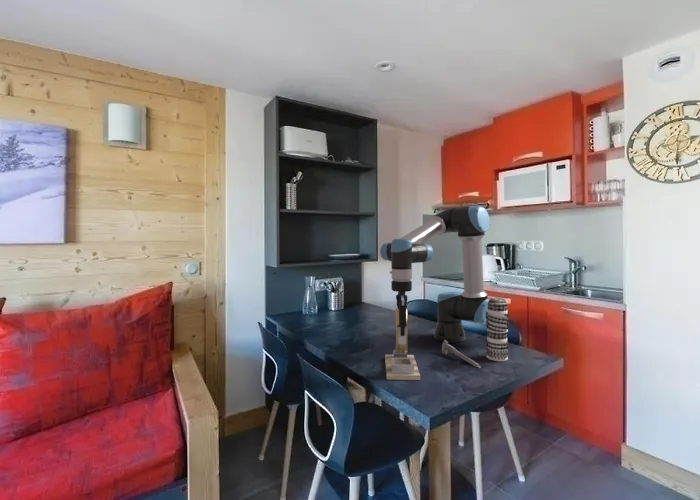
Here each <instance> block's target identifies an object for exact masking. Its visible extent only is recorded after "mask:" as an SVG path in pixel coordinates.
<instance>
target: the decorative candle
mask: <svg viewBox="0 0 700 500" xmlns="http://www.w3.org/2000/svg"><path fill="white" fill-rule="evenodd" d="M489 299H490V300H489V301H487V302H488V308H487V312H486V315H487V316H486V319H487V320H486V323H485V324H486V325H485V326H486V327H485V328H486V331H487V336H486V344H485V345H486V348H485V350H486V351H485V353H486V355H485V357H486V358H487V359H488V360H491V361H494V362H505V361H508V360H509V357H508V356H509V349H508V348H509V346H508V344H509V342H508V332H509V327H508V326H507V325H509V324H510V323H509V322H508V321H509V320H510V318H508V316H510V313H508V304H509V302H508V301H507V300H506V299H505V298H502V297H492V298H491V297H490V298H489Z"/></svg>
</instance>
